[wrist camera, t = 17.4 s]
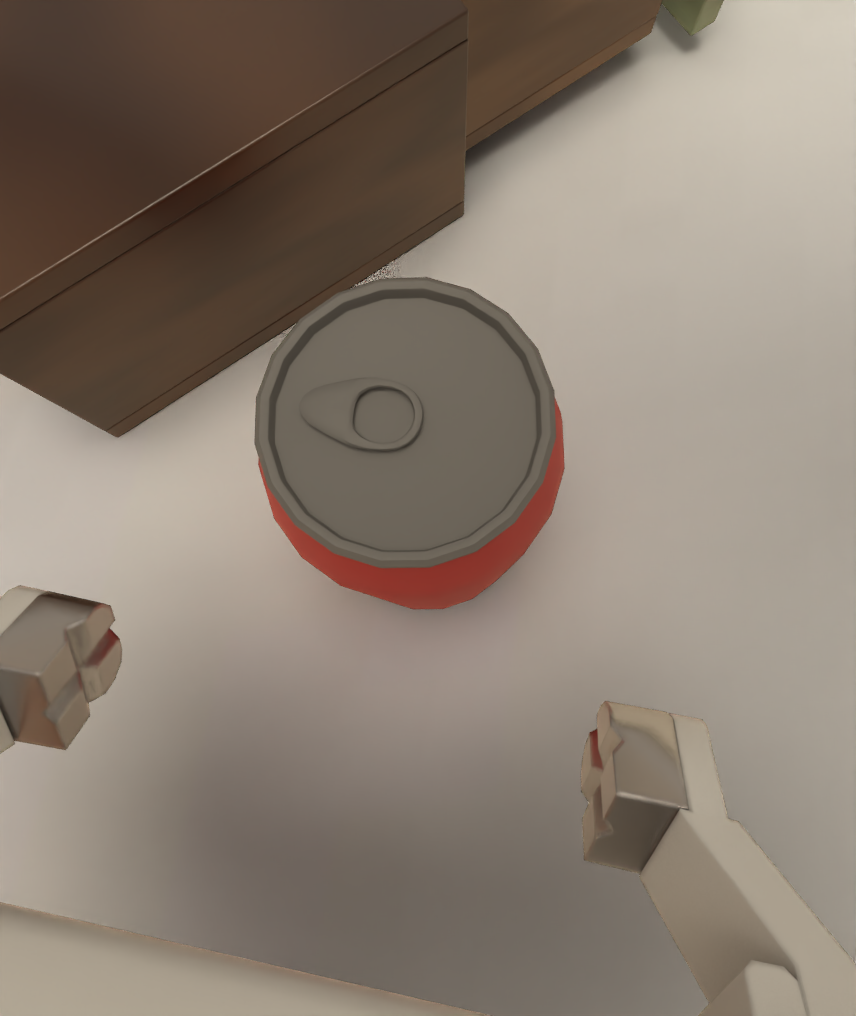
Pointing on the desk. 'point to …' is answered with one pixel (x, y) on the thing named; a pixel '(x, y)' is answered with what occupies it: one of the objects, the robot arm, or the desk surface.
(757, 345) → the desk surface
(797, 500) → the desk surface
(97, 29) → the cabinet
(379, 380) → the beer can
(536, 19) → the drawer
